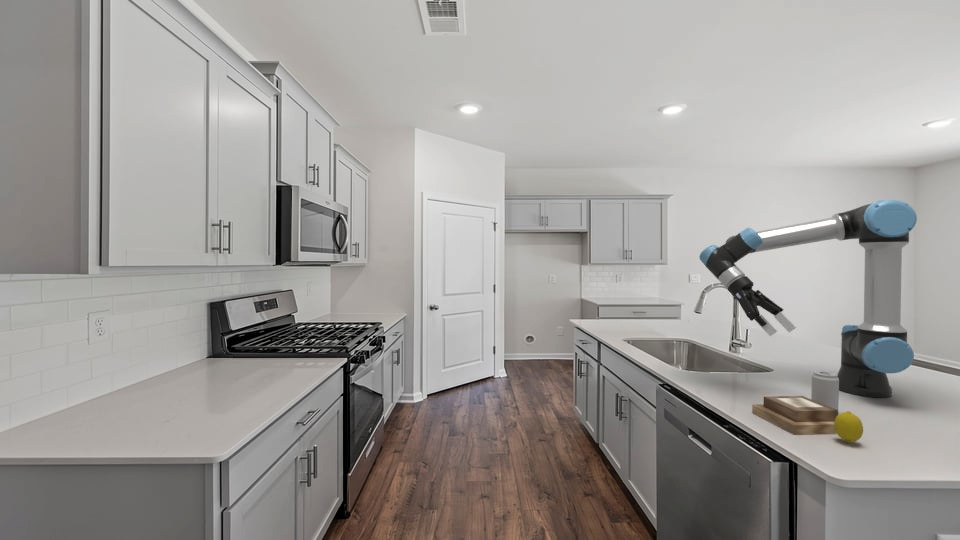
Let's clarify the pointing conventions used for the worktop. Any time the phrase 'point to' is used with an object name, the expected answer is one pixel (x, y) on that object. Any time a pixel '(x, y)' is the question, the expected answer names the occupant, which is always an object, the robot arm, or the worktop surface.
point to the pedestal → (797, 414)
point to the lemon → (848, 426)
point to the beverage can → (825, 388)
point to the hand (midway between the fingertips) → (783, 331)
